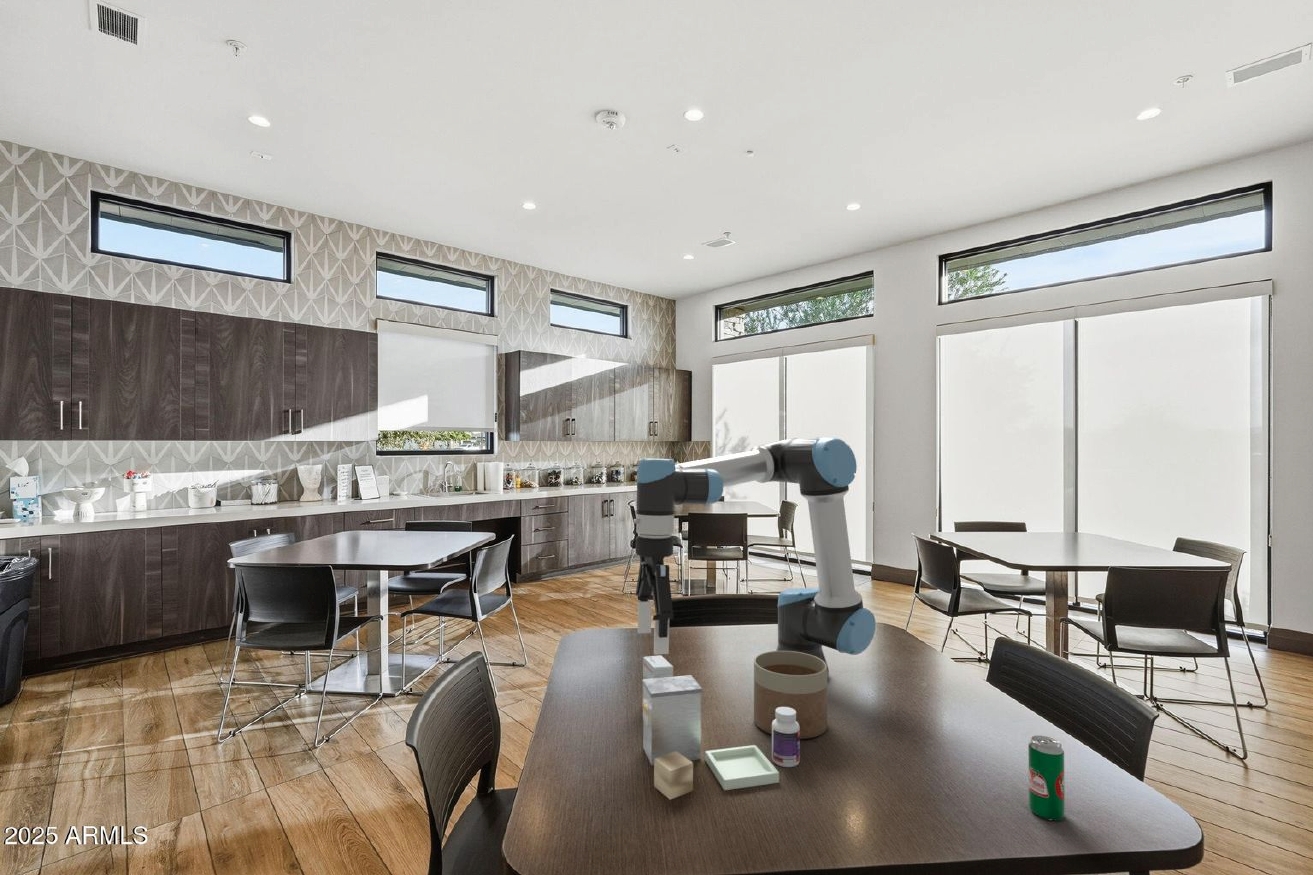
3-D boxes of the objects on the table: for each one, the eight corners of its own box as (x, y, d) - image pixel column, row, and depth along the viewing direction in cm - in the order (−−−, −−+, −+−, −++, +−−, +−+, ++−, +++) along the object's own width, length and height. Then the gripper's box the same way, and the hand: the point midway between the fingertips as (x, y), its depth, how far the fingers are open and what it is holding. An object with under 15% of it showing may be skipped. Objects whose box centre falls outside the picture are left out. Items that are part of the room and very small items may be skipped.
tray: (755, 753, 120) (755, 744, 120) (778, 782, 109) (779, 772, 109) (705, 760, 117) (705, 751, 117) (724, 790, 107) (724, 780, 107)
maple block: (676, 778, 111) (676, 751, 111) (692, 791, 107) (693, 762, 107) (654, 786, 108) (654, 758, 108) (670, 800, 104) (670, 771, 104)
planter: (747, 734, 128) (747, 669, 128) (760, 705, 143) (760, 647, 143) (824, 747, 122) (824, 679, 123) (829, 715, 137) (829, 655, 138)
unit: (692, 741, 125) (692, 674, 125) (703, 759, 118) (704, 688, 118) (640, 747, 122) (640, 679, 122) (648, 766, 115) (649, 693, 115)
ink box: (674, 718, 135) (674, 665, 136) (654, 721, 134) (654, 668, 134) (661, 703, 144) (661, 653, 144) (641, 706, 142) (641, 656, 142)
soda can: (1021, 805, 103) (1021, 734, 103) (1049, 803, 103) (1049, 733, 103) (1043, 823, 98) (1042, 749, 98) (1072, 821, 98) (1071, 748, 98)
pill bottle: (804, 766, 115) (804, 715, 115) (777, 769, 114) (777, 717, 114) (793, 752, 120) (793, 703, 120) (767, 754, 119) (767, 705, 120)
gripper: (623, 528, 131) (621, 625, 130) (651, 544, 107) (649, 665, 106) (657, 527, 133) (654, 624, 132) (691, 544, 109) (689, 662, 108)
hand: (652, 642), depth 119 cm, fingers open, 13 cm apart
